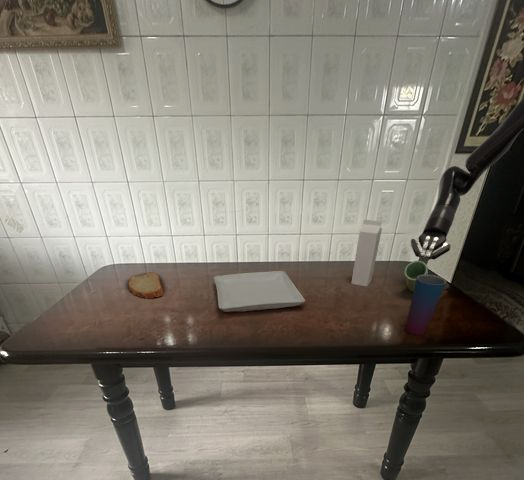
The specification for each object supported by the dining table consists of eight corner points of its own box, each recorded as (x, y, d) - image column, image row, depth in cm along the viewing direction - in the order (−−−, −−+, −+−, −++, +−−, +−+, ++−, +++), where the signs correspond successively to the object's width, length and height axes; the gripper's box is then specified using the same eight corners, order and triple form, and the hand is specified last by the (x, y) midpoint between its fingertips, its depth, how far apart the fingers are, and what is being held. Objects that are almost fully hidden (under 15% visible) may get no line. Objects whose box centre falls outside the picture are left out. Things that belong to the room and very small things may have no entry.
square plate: (220, 319, 91) (219, 307, 89) (214, 284, 113) (213, 274, 111) (305, 310, 95) (306, 299, 93) (283, 278, 117) (284, 269, 115)
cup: (397, 330, 85) (412, 279, 76) (408, 321, 88) (423, 272, 80) (422, 339, 81) (440, 286, 72) (432, 329, 85) (450, 279, 76)
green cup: (429, 274, 104) (429, 260, 95) (426, 292, 104) (425, 280, 94) (408, 274, 108) (406, 260, 98) (405, 292, 107) (403, 279, 98)
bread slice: (157, 300, 103) (155, 289, 100) (112, 294, 107) (109, 284, 104) (182, 280, 117) (180, 271, 115) (142, 276, 121) (139, 267, 119)
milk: (355, 278, 117) (366, 217, 104) (371, 281, 114) (384, 219, 101) (350, 284, 112) (361, 221, 100) (367, 287, 110) (379, 223, 97)
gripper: (419, 213, 102) (399, 258, 101) (463, 218, 96) (443, 266, 95) (418, 227, 109) (400, 269, 107) (459, 232, 102) (440, 277, 101)
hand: (420, 267), depth 101 cm, fingers closed
